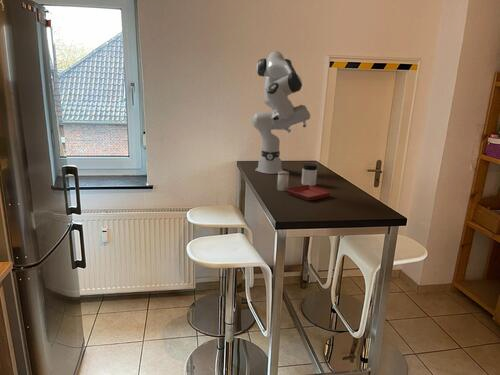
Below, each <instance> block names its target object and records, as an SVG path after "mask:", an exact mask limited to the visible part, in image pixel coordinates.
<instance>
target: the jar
mask: <svg viewBox="0 0 500 375" xmlns="http://www.w3.org/2000/svg"><path fill="white" fill-rule="evenodd" d="M317 172H318V164H316V163H314V162H313V163H311V162H307V163H305V162H304V163H302V169H301V180H300V181H301V184H302V186H303V185H311V186H314V187H315V186H316V185H317V175H318V173H317Z"/></svg>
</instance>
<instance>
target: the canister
mask: <svg viewBox="0 0 500 375" xmlns="http://www.w3.org/2000/svg"><path fill="white" fill-rule="evenodd" d="M289 178H290V172H289V171H287V170H283V171H278V173H277V184H276V190H277V191H280V192H287V191H286V190H285V189H287V188H289Z"/></svg>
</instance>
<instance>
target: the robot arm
mask: <svg viewBox="0 0 500 375" xmlns="http://www.w3.org/2000/svg"><path fill="white" fill-rule="evenodd" d="M255 68H256V73H257V75H258V76H260V77H262V78H263V77H265V80H264V86H263V88H264V90H263V92H264V93H263V97H264V99H263V100H264V104H265V105H266V106H268V107H269V108H271V110H272V112H271V111H260V112H259V111H258V112H256V113H255V114H253V116H252V125H253V127H254V128H255V129H256V130H257V131H258V132H259V133H260V136H261V139H262V141H261V142H262V146H261V147H262V150H261V153H260V155H261V157H259V159H258V166H257V167H256V168H255V172H259V173H263V174H271V175H272V174H273V175H274V174H276V175H278V171H284V169H283V168H282V159H281V158H280V154H281V153H280V142H281V141H280V138H279V137H278V136H277V135H276V134H274V133H272V130H277V131H279V130H282V131H283V130H284V131H286V132H287V133H291V131H292V130H291V126H294V125H297V124H300V123H302V127H303V128H306V127H307V122H306V121H309V120H310V118H311V113H310V111H309V110H308V108H307V106H306V105H304V104H299V105H297V106H294V104H293V102H291V100H290V99H289V97H288V96H290V95H292V94H294V93H296V92H300V90H301V89H302V87H303V81H302V79H301V76H299V74H298V73H297V72H296V70H295V68H294V66H293V64H292V61H291V60H290V59H289V58H285V57H284V55H283V54H282V52H280V51H277V50H273V51H272V52H270V53H269V54H268V56H267V58H260V59H258V61H257V63H256V67H255Z"/></svg>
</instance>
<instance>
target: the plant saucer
mask: <svg viewBox="0 0 500 375" xmlns="http://www.w3.org/2000/svg"><path fill="white" fill-rule="evenodd" d="M285 190H286V191H285V192H286V193H288V195H291V196H294V197H296V198H298V199H302V200H304V201H310V200H311V201H314V200H319V199H323V198H327V197H329V196H330V195H331V194H332V191H331V190H327V189H324V188H320V187H317V186H315V185H314V186H311V185H303V184H302V185H298V186H294V187H292V186H291V187H288V188H287V189H285Z"/></svg>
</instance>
